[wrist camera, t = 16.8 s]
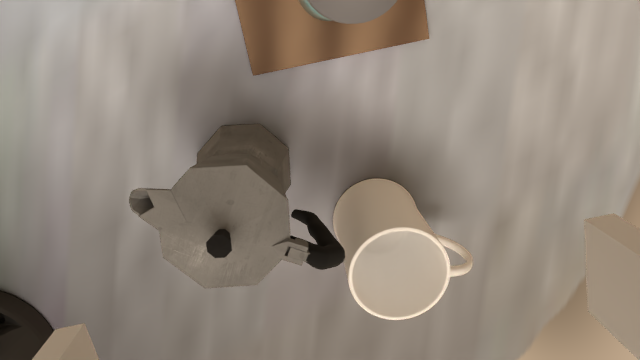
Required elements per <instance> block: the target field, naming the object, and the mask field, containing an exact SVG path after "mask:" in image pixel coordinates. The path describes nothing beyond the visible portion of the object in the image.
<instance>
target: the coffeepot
mask: <svg viewBox="0 0 640 360" xmlns="http://www.w3.org/2000/svg"><path fill="white" fill-rule="evenodd" d="M290 185H291V180H290V164H289V149H288V148H287V147H286V146H285V145H284V144H283V143H281V142H280V141H279V140H278V139H277V138H276V137H275V136H274V135H273V134H271V133H270V132H269V131H268V130H266V129H265V128H264V127H263V126H262V125H261V124H240V125H228V126H221V127H220V128H219V129H218V130H217V132H216V133H215V134H214V135H213V136H212V137H211V138H210V140H209V141H208V142H207V143H206V144H205V145H204V147H203V148H202V149H201V150H200V151H199V152H198V153H197V164H196V165H194V166H193V167H191V168H190V169H189V170H188V171H187V172H186V173H185V174H184V175H183V176H182V177H181V178H180V179H179V181H178V182H177V183H176V184H175V185H174V186H173V188H172V189H146V188H138V189H136V190H133V191H132V192H131V194H130V199H129V204H130V207H131V209H132V211H133V212H134V213H136V214H138V215H139V217H140V218H142V219H143V220H145V221H146V222H147V223H149V224H150V225H152V226H153V227H155V228H156V229H157V230H159V234H160V240H161V247H162V254H163V258H165V259H166V260H167V261H169V262H170V263H171V264H173V265H174V266H175V267H177V268H178V269H180V270H181V271H182V272H184V273H185V274H186V275H188V276H189V277H190V278H192V279H193V280H194V281H196V282H197V283H199V284H200V285H201V286H203V287H204V288H217V287H233V286H249V285H257V284H258V283H259V282H260V281H261V280H262V279H263V278H264V277H265V276H266V275H267V274H268V273H269V272H270V271H271V270H272V269H273V268H274V267H275V266H276V265H277V264H278V263H279V262H280V261H281V260H285V261H288V262H292V263H295V264H298V265H301V266H302V263H303V261H304V262H306V263H308V264H310V265H311V266H312V267H315V268H317V269H328V268H332V267H336V266H338V265H339V264H340V263H342V262H343V261H344V259H345V250H344V248H343V247H342V246H341V244H340V243H339V242H338V241H337V240H336V239H335V238H334V236H333V235H332V234H331V233H330V231H329V230H328V229H327V227H326V226H325V225H324V224H323V223H322V222H321V221H320V219H319V218H318V217H317V215H315V214H314V213H312V212H308V211H302V210H294V211H293V212H292V214H291V216H292V217H293V218H295V219H297V220H299V221H301V222H302V223H304V224H306V225H307V227H308V231H309V233H310V235H311V236H312V237H313V238H314V239H315V240H316V242H317V244H318V245H316V244H313V243H310V242H308V241H306V240H303V239H301V238H297V237H293V236H290V222H289V206H288V199H287V197H286V195H285V193H286V191H287V190H288V188H289V186H290Z"/></svg>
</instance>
